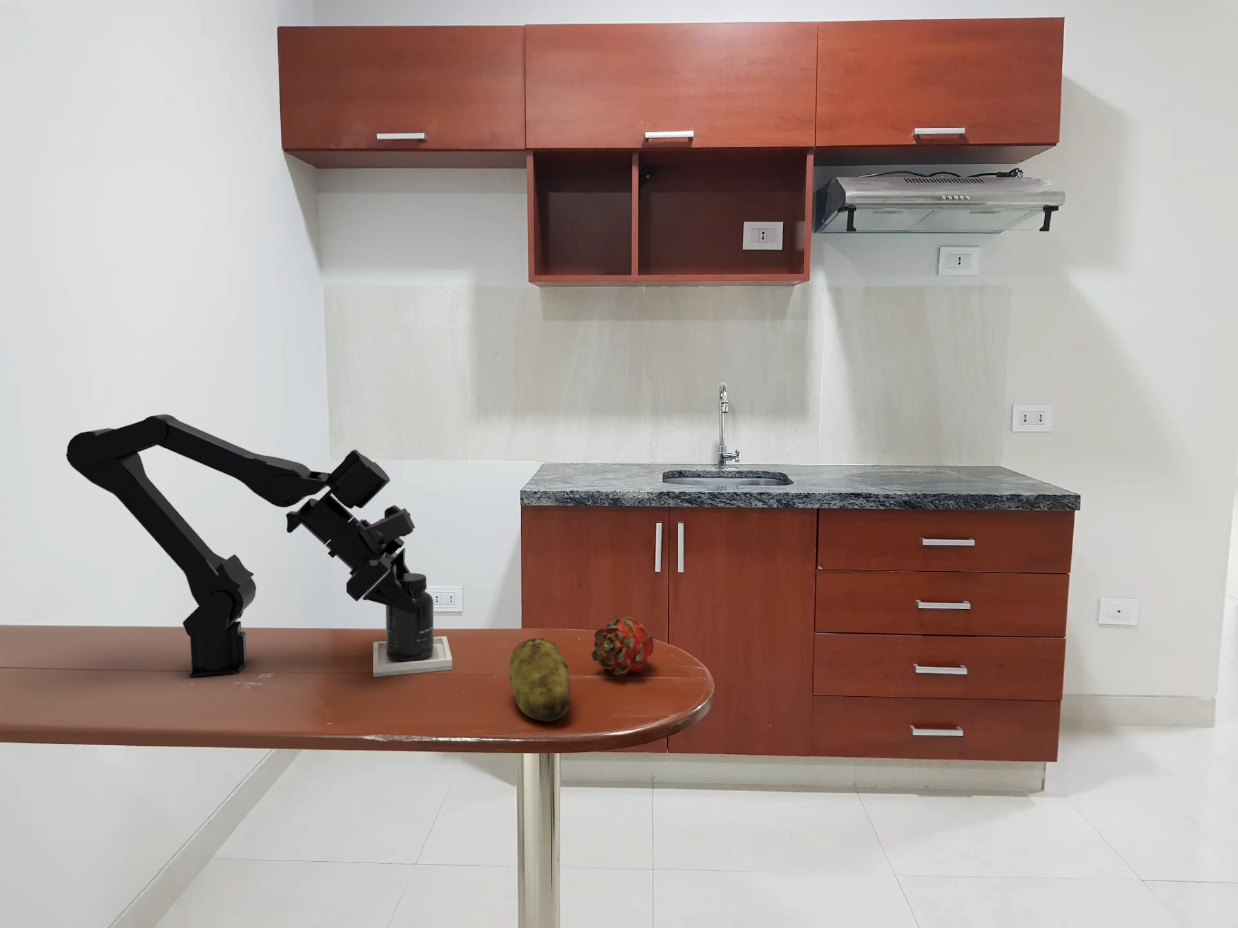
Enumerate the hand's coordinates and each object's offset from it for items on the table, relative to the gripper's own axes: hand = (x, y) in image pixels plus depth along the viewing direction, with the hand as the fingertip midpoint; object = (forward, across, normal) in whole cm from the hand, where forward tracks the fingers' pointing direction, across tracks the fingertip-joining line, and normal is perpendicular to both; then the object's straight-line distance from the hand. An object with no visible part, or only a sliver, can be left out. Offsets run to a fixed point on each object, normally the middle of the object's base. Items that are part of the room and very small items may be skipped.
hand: (419, 603), depth 125 cm
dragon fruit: (+27, -8, -15) cm, 31 cm away
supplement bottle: (+5, 0, +7) cm, 8 cm away
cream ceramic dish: (+5, 0, +7) cm, 9 cm away
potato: (+18, -20, -6) cm, 27 cm away
